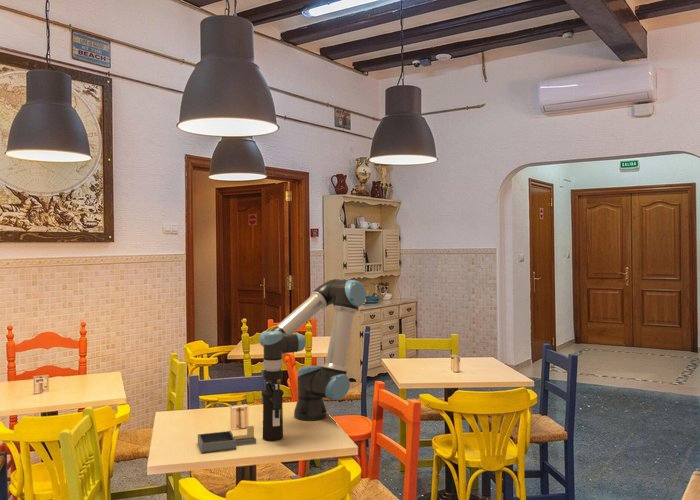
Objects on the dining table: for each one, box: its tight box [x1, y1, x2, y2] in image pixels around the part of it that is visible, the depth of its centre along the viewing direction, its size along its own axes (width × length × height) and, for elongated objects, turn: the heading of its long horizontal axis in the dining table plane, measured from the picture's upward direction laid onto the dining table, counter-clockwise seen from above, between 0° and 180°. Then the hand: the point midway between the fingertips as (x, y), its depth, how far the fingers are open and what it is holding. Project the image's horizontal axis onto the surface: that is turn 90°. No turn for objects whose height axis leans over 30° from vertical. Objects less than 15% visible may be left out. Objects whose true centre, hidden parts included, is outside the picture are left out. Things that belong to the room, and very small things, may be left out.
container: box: [261, 388, 285, 442], centre depth 252 cm, size 9×9×20 cm
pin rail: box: [236, 437, 257, 447], centre depth 246 cm, size 8×4×2 cm, turn 111°
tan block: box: [233, 425, 255, 440], centre depth 246 cm, size 8×2×5 cm, turn 111°
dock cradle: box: [197, 430, 237, 454], centre depth 242 cm, size 13×13×4 cm
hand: (272, 421), depth 252 cm, fingers open, 13 cm apart
